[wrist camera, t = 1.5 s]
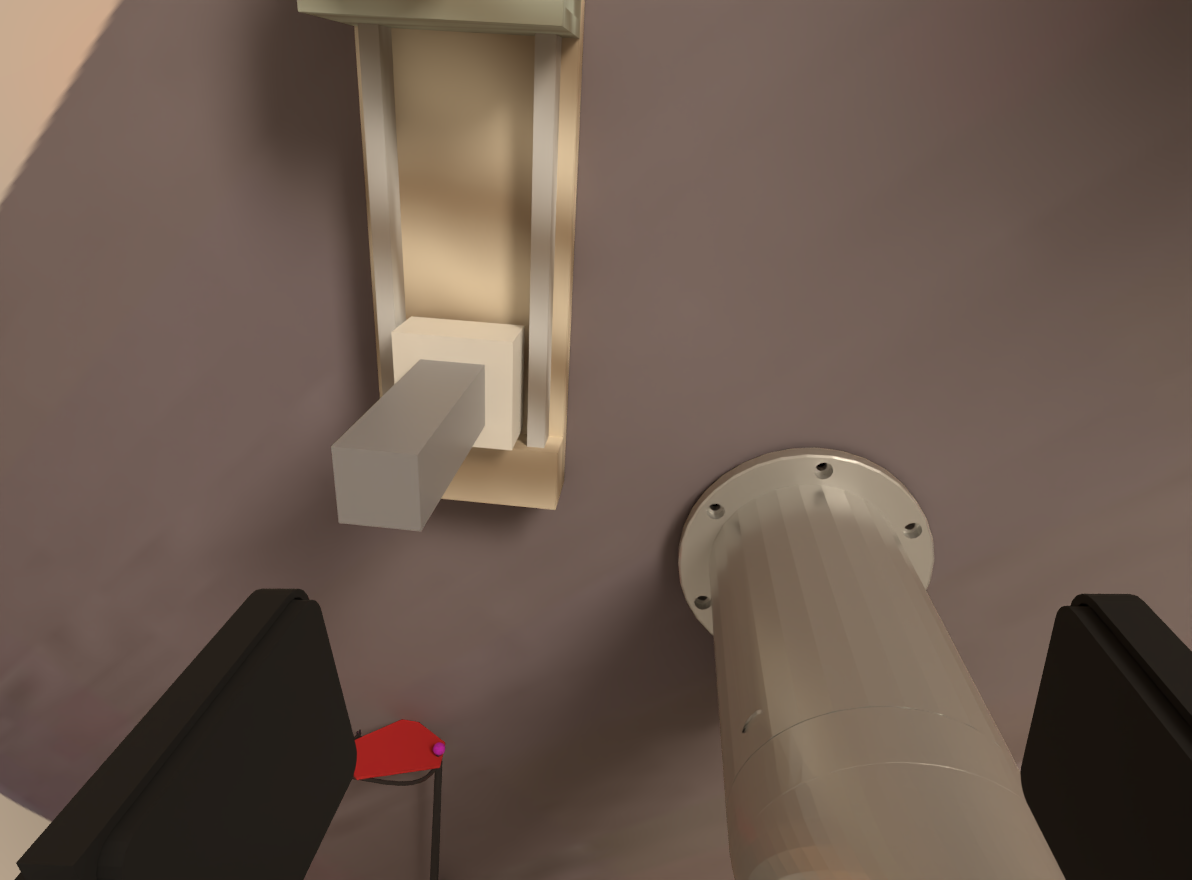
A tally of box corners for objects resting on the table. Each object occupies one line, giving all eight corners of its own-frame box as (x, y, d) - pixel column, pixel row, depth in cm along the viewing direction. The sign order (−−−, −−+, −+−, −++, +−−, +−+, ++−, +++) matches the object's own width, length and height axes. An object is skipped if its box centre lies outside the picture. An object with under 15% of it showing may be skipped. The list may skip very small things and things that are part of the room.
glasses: (458, 713, 46) (434, 780, 41) (449, 887, 53) (427, 960, 48) (241, 677, 47) (193, 739, 42) (259, 853, 53) (221, 923, 49)
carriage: (522, 427, 35) (457, 563, 25) (416, 417, 36) (307, 547, 25) (524, 325, 33) (454, 425, 23) (411, 316, 34) (290, 410, 23)
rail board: (564, 481, 38) (545, 543, 33) (393, 464, 39) (346, 523, 33) (590, -143, 27) (569, -206, 22) (354, -153, 28) (276, -215, 23)
